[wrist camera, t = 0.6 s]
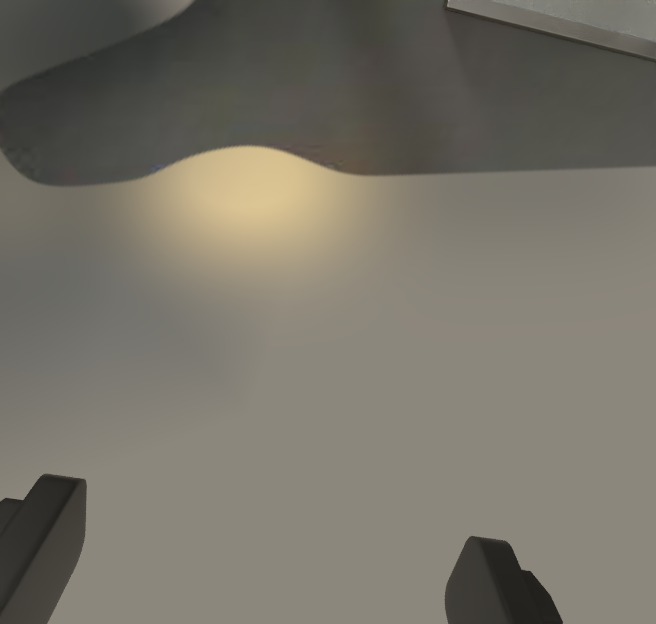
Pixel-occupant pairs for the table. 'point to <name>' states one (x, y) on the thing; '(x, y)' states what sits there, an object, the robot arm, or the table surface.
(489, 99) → the table surface
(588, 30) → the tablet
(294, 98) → the table surface
